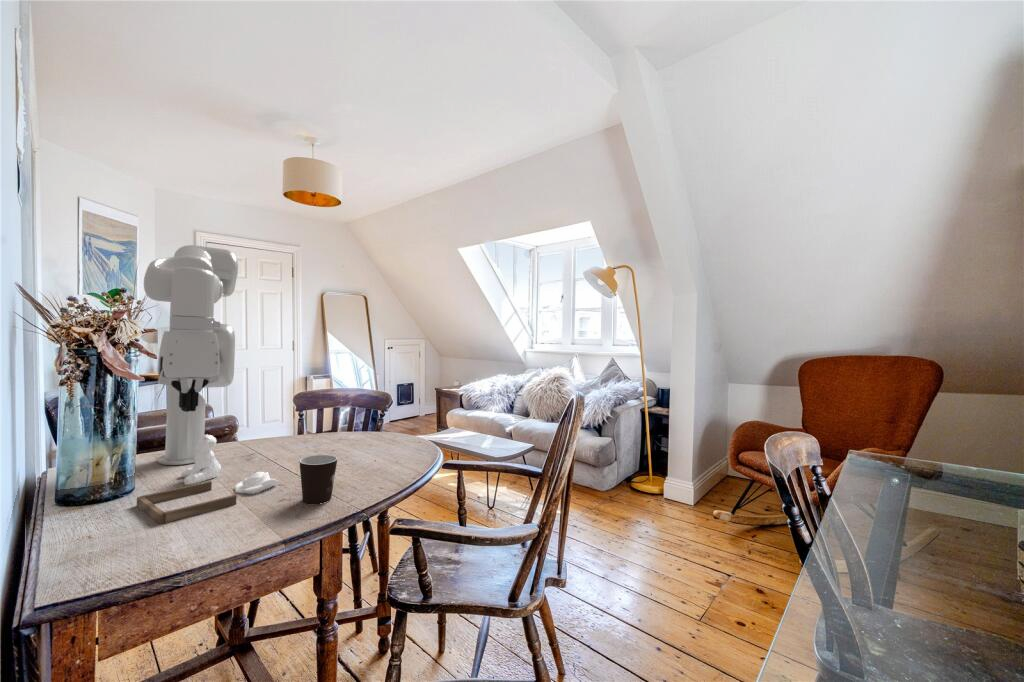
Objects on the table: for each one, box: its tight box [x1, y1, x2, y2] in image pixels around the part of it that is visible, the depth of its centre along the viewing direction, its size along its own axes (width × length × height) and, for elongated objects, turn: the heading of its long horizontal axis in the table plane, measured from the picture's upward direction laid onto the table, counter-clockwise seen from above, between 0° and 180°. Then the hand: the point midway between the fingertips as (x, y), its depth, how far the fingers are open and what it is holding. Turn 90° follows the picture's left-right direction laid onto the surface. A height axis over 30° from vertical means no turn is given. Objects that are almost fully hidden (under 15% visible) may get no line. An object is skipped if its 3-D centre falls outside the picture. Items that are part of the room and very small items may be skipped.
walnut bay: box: [136, 481, 238, 525], centre depth 99 cm, size 15×14×2 cm
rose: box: [234, 470, 279, 495], centre depth 112 cm, size 10×4×10 cm
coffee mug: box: [298, 454, 339, 505], centre depth 107 cm, size 12×9×10 cm
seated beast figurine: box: [180, 433, 222, 486], centre depth 117 cm, size 10×9×12 cm
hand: (188, 410), depth 92 cm, fingers closed
